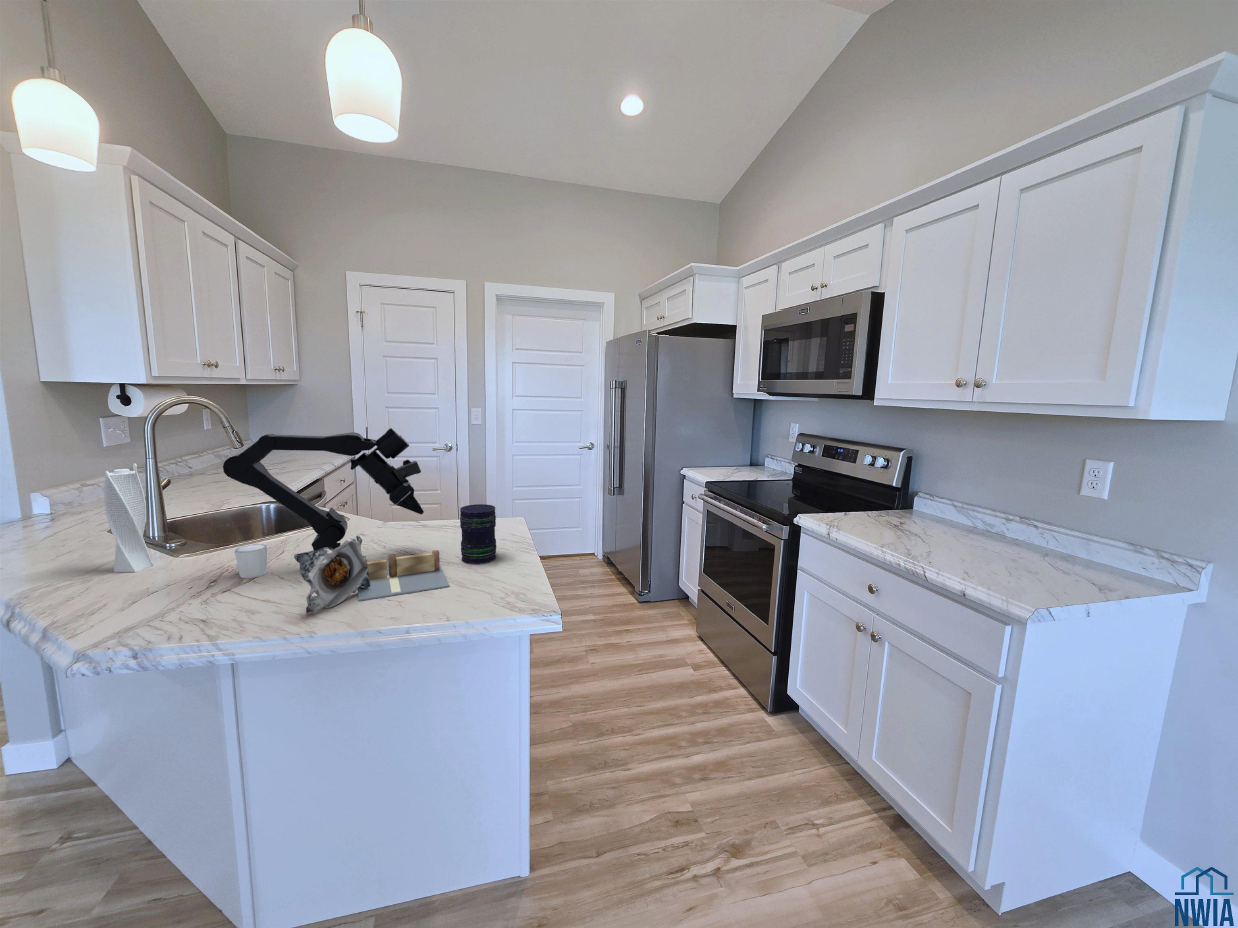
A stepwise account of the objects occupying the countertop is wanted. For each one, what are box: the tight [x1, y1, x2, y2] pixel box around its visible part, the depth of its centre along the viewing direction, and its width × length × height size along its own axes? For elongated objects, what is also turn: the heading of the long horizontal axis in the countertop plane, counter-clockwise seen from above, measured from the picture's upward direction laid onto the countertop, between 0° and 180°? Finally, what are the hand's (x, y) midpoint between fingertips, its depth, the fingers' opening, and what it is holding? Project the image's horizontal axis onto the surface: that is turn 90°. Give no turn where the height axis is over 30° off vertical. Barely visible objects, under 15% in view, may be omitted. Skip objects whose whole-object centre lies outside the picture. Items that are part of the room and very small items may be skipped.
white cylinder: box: [234, 543, 268, 579], centre depth 129 cm, size 7×7×7 cm
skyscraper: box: [103, 463, 154, 573], centre depth 130 cm, size 8×8×28 cm
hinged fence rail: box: [387, 549, 441, 577], centre depth 131 cm, size 12×2×5 cm, turn 117°
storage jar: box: [459, 503, 497, 565], centre depth 144 cm, size 10×10×15 cm
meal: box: [293, 535, 370, 614], centre depth 114 cm, size 15×4×13 cm, turn 161°
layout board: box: [357, 565, 451, 602], centre depth 127 cm, size 20×18×1 cm
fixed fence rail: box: [365, 559, 388, 581], centre depth 126 cm, size 6×2×5 cm, turn 118°
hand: (421, 510), depth 142 cm, fingers open, 9 cm apart
